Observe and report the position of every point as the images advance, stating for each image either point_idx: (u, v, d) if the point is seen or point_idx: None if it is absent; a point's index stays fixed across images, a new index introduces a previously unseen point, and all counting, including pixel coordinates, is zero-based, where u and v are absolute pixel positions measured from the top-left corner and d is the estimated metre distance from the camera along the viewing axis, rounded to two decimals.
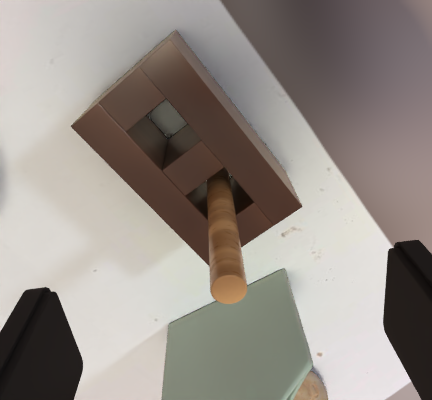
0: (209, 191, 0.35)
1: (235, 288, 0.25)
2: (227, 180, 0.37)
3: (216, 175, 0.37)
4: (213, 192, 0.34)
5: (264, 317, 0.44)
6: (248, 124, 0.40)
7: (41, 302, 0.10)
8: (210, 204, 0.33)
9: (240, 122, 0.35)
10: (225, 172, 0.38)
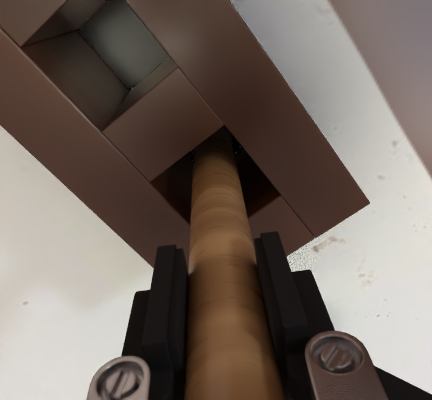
0: (196, 174, 0.18)
1: None
2: (230, 155, 0.20)
3: (209, 147, 0.20)
4: (204, 176, 0.17)
5: None
6: None
7: (177, 256, 0.12)
8: (196, 198, 0.16)
9: None
10: (225, 143, 0.21)
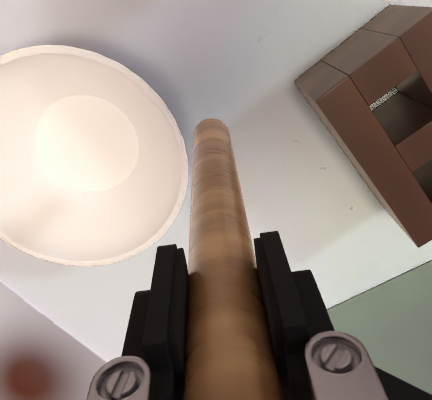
0: (195, 175, 0.18)
1: None
2: (229, 156, 0.20)
3: (208, 148, 0.20)
4: (203, 177, 0.18)
5: None
6: None
7: (177, 256, 0.12)
8: (196, 199, 0.16)
9: None
10: (225, 144, 0.21)
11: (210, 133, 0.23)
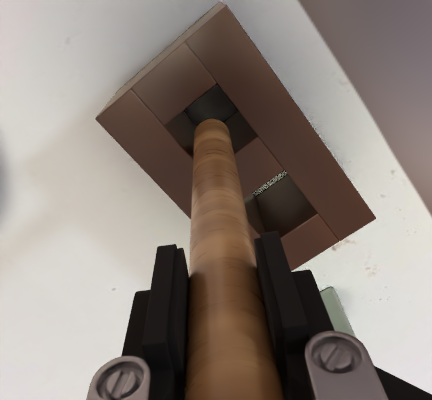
0: (196, 176, 0.18)
1: None
2: (230, 157, 0.20)
3: (209, 149, 0.20)
4: (204, 178, 0.18)
5: None
6: None
7: (177, 256, 0.12)
8: (196, 200, 0.16)
9: None
10: (226, 144, 0.21)
11: (210, 133, 0.23)
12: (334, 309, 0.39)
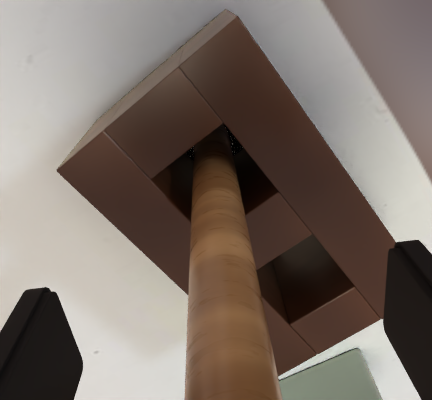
0: (196, 177, 0.19)
1: None
2: (229, 159, 0.21)
3: (209, 151, 0.21)
4: (204, 178, 0.18)
5: None
6: None
7: (41, 302, 0.10)
8: (196, 200, 0.17)
9: None
10: (225, 146, 0.22)
11: (210, 135, 0.23)
12: (363, 380, 0.32)
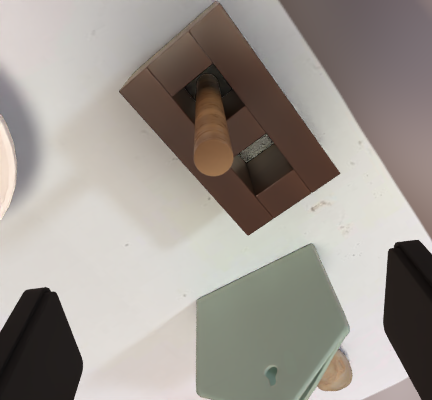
0: (197, 96, 0.33)
1: (221, 156, 0.23)
2: (217, 89, 0.35)
3: (205, 85, 0.35)
4: (202, 95, 0.32)
5: (296, 288, 0.44)
6: None
7: (41, 302, 0.10)
8: (198, 103, 0.31)
9: None
10: (215, 84, 0.36)
11: (206, 79, 0.37)
12: (313, 260, 0.47)
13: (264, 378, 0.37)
